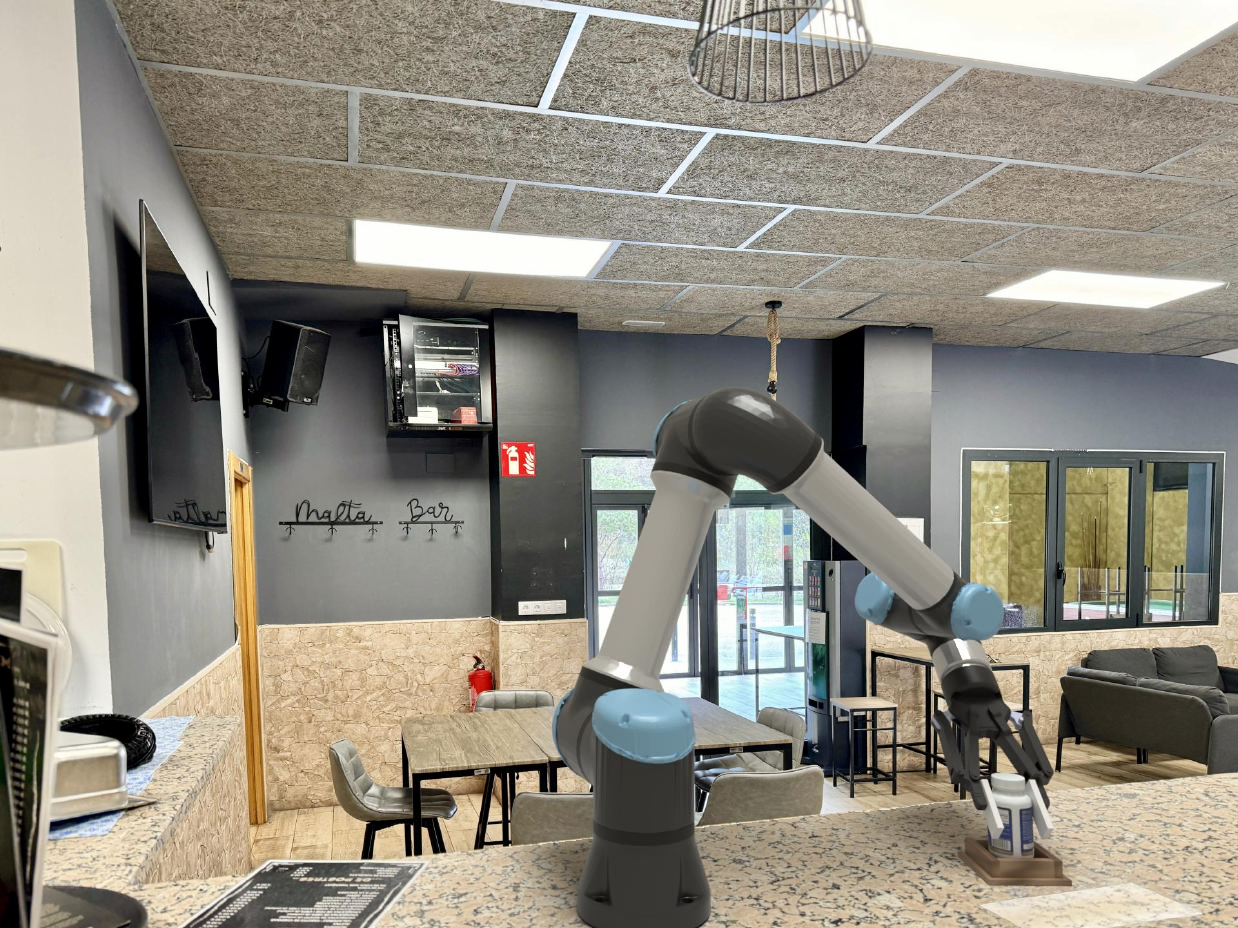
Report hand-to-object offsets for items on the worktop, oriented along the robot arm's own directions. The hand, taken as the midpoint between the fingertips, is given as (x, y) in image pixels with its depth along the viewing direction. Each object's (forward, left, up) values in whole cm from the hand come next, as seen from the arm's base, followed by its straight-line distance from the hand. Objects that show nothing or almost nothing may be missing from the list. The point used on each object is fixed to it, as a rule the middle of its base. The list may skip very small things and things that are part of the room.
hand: (1022, 833), depth 105 cm
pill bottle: (0, +4, -4) cm, 6 cm away
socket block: (0, +4, -6) cm, 7 cm away
